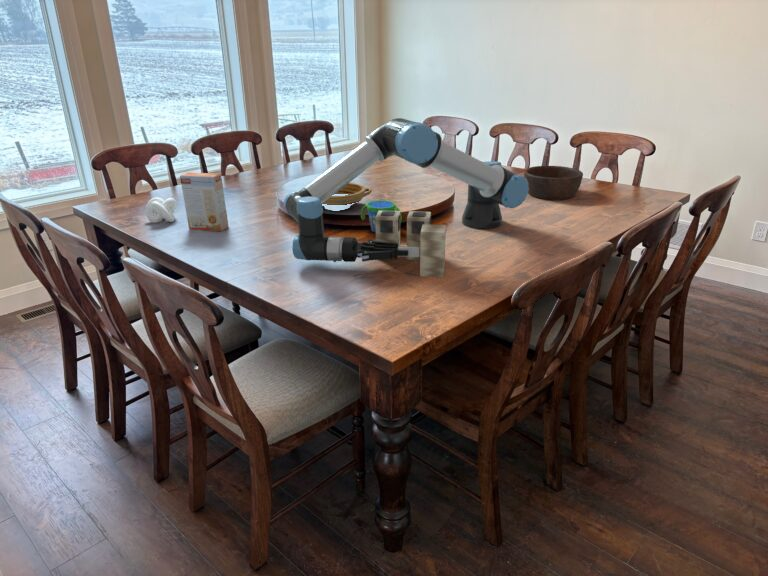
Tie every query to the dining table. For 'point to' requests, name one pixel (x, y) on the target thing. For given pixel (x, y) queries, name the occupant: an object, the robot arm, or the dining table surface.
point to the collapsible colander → (353, 196)
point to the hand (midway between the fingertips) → (419, 252)
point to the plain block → (432, 250)
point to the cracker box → (204, 201)
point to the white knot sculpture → (160, 209)
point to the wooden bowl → (553, 182)
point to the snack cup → (375, 207)
